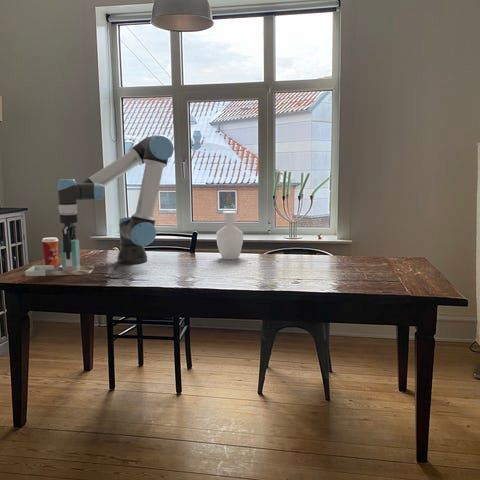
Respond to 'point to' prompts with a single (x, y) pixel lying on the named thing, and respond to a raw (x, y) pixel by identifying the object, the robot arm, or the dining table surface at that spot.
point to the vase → (229, 237)
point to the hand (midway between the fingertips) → (71, 264)
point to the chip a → (57, 269)
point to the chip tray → (38, 270)
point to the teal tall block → (74, 257)
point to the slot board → (83, 271)
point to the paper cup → (50, 250)
